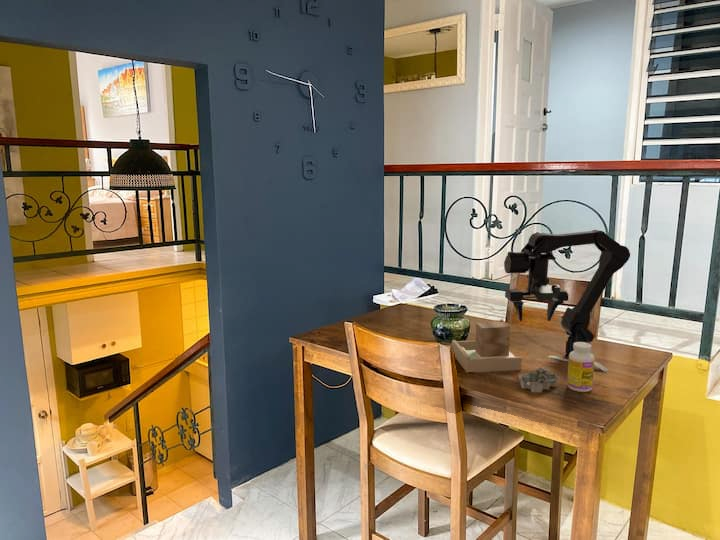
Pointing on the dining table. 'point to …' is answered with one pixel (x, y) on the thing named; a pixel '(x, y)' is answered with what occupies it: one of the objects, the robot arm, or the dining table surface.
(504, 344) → the walnut block
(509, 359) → the tray
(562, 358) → the fork
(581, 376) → the supplement bottle
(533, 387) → the egg carton
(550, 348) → the dining table surface
